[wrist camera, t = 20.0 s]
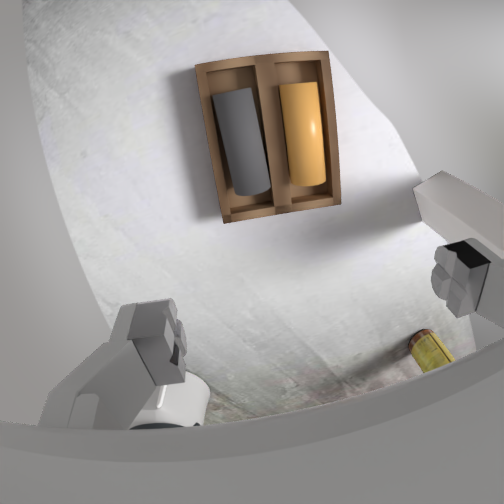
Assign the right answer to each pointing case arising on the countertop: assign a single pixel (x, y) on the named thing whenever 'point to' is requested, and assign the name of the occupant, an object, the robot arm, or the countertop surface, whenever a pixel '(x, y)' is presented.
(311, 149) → the orange rod
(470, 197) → the milk
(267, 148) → the slot rack
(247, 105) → the charcoal rod
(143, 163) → the countertop surface
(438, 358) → the sauce bottle
